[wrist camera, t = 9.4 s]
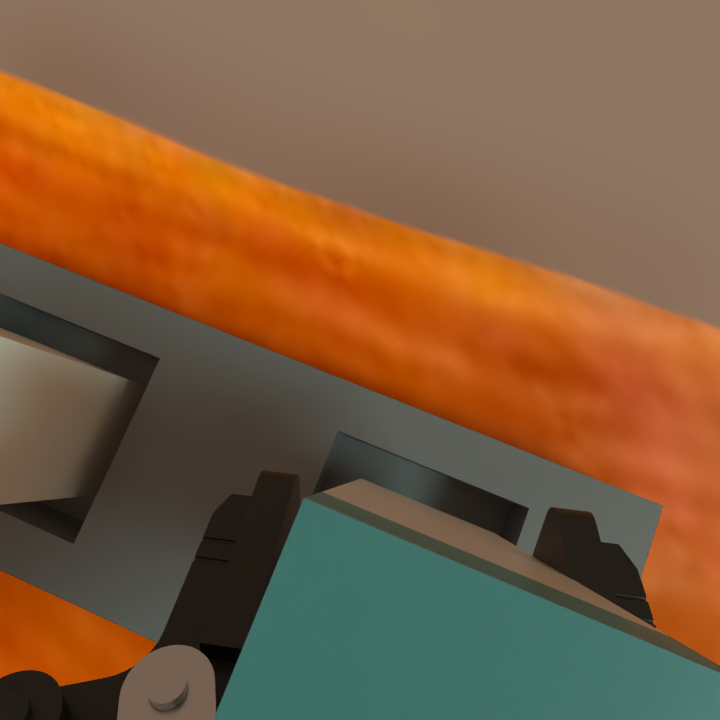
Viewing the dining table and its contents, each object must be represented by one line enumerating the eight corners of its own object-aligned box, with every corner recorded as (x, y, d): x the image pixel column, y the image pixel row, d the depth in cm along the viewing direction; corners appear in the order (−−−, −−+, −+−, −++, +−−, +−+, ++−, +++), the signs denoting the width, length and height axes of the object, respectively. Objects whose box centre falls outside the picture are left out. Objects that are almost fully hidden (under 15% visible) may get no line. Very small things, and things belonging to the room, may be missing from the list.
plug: (307, 615, 16) (103, 989, 5) (361, 478, 17) (302, 498, 5) (443, 675, 16) (605, 1260, 4) (493, 532, 17) (760, 688, 5)
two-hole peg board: (-87, 490, 21) (-544, 513, 11) (29, 264, 22) (-276, 89, 12) (533, 772, 19) (720, 1155, 8) (621, 500, 20) (877, 535, 10)
